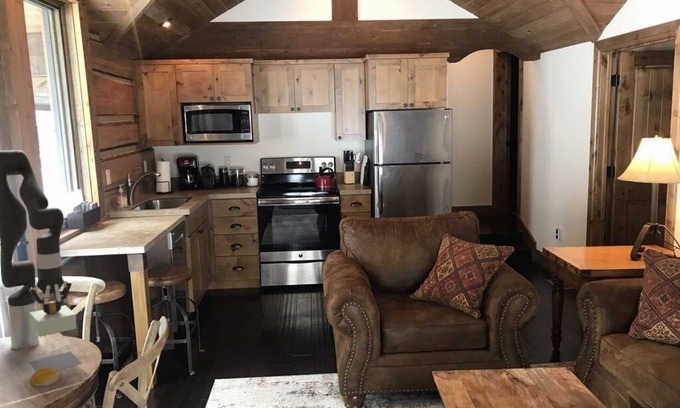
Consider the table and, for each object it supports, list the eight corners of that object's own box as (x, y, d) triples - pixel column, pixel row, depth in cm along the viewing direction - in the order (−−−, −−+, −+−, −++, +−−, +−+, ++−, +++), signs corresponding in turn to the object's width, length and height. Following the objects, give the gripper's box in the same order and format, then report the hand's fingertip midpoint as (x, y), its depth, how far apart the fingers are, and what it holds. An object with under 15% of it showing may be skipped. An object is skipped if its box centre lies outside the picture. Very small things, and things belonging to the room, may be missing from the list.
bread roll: (35, 390, 177) (34, 378, 177) (29, 380, 184) (28, 369, 183) (63, 382, 183) (62, 371, 182) (56, 373, 189) (55, 362, 189)
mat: (28, 362, 197) (28, 361, 197) (70, 352, 206) (70, 351, 206) (39, 376, 186) (39, 375, 186) (82, 364, 196) (82, 363, 196)
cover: (30, 326, 195) (28, 301, 193) (66, 319, 203) (64, 294, 201) (39, 336, 186) (37, 310, 185) (76, 328, 194) (74, 303, 193)
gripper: (67, 259, 198) (70, 305, 201) (24, 266, 189) (27, 313, 192) (74, 264, 193) (76, 310, 195) (29, 270, 183) (33, 319, 186)
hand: (52, 312), depth 193 cm, fingers closed on cover, 3 cm apart
